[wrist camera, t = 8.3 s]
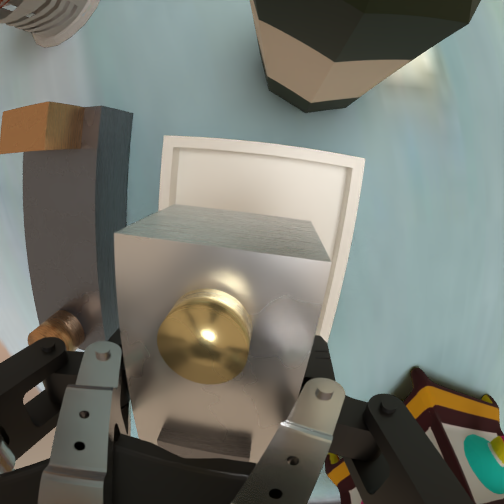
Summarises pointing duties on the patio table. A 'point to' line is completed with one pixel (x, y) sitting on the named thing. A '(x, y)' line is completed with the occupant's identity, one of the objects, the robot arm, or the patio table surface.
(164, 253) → the lever cap
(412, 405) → the decorative lantern
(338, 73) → the wine bottle
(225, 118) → the patio table surface
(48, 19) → the french press
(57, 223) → the plane body
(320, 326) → the tray
